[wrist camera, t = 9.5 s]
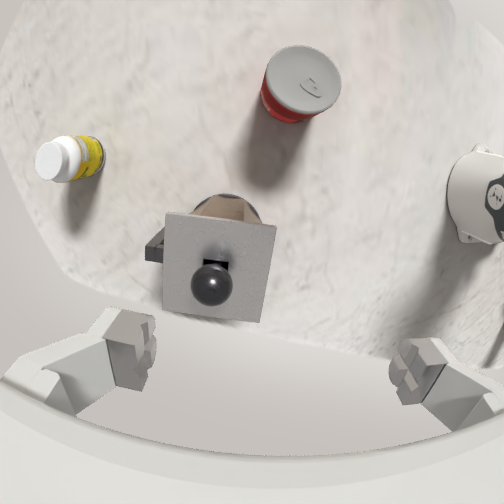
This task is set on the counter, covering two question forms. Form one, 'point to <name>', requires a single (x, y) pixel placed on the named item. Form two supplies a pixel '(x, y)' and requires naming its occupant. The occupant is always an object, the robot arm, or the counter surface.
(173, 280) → the cafetiere
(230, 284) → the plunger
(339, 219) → the counter surface
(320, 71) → the canned food
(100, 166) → the pill bottle
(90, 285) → the counter surface
